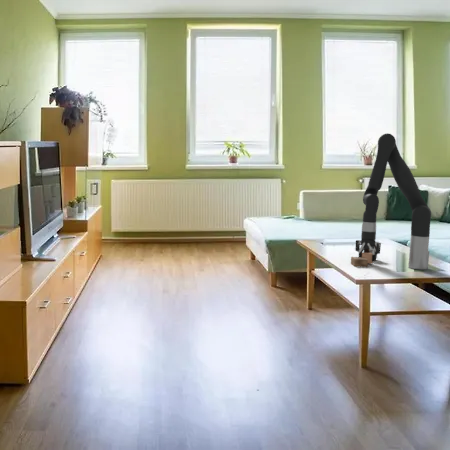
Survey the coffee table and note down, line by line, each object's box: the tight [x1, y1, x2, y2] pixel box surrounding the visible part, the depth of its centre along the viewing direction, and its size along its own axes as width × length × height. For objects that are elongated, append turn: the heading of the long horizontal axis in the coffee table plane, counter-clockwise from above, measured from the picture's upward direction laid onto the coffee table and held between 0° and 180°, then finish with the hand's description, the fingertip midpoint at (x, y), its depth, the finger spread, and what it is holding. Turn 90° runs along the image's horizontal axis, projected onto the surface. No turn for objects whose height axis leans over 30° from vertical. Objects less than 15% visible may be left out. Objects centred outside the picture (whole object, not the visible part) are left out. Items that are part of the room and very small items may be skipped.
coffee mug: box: [360, 241, 380, 258], centre depth 316 cm, size 12×9×10 cm
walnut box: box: [350, 256, 369, 268], centre depth 296 cm, size 7×7×4 cm
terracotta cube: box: [362, 252, 374, 264], centre depth 301 cm, size 5×5×5 cm
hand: (367, 260), depth 302 cm, fingers closed on terracotta cube, 7 cm apart
